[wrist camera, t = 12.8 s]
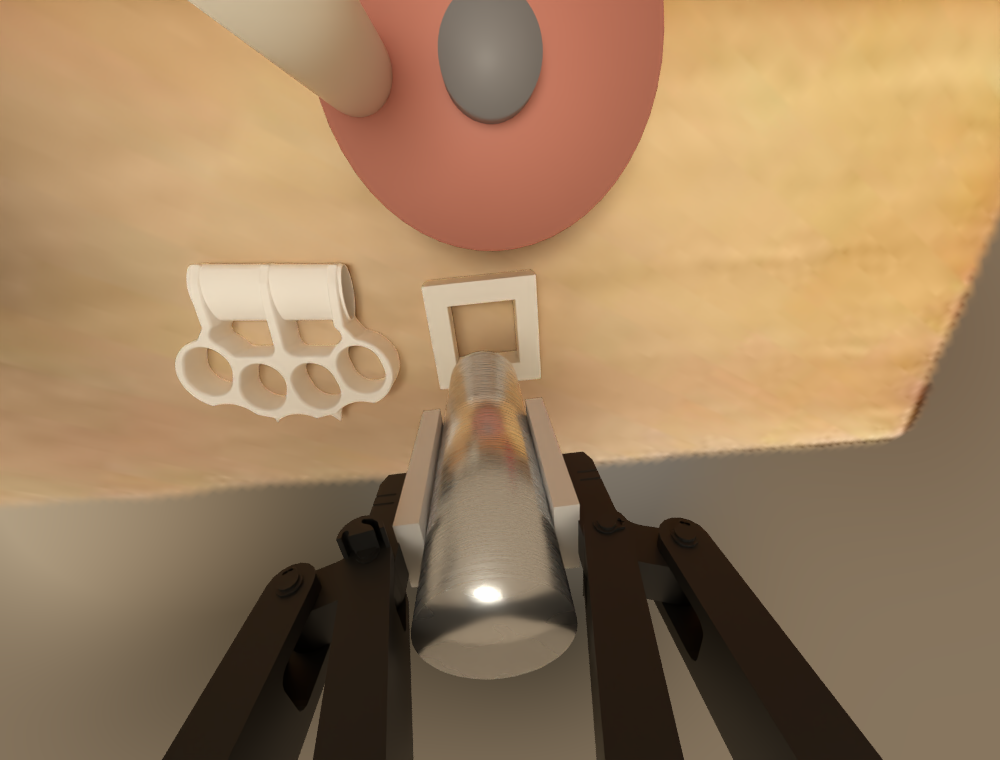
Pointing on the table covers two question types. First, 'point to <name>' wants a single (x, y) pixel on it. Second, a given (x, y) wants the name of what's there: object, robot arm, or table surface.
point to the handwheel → (471, 101)
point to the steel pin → (490, 538)
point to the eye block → (484, 290)
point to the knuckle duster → (279, 338)
